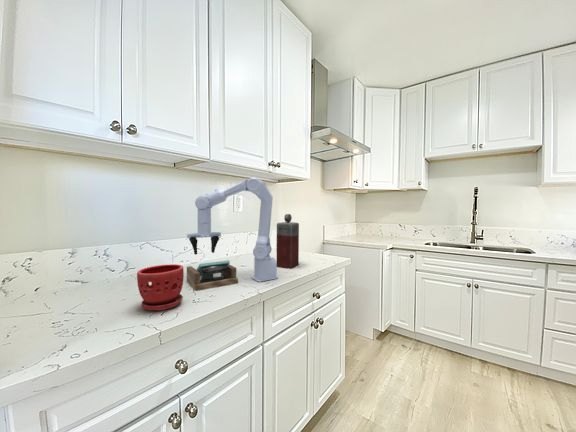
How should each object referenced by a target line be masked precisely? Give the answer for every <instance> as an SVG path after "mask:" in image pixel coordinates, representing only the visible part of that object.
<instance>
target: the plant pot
mask: <svg viewBox="0 0 576 432" xmlns="http://www.w3.org/2000/svg"><path fill="white" fill-rule="evenodd" d="M184 273H185V272H184V266H183V265H181V264H174V263H173V264H160V265H159V264H158V265H154V266H148V267H144V268H142V269H139V270H138V271H137V273H136V281H137V283H136V284H137V287H138V292H139V295H140V297H141V298H142V301H141V302H140V303H141V306H142V308H143V309H144V310H147V311H163V310H167V309H171V308H174V307H175V306H177V305H179V304H180V303H181V301H182V300H183V295H182V293H181V292H182V291H183V290H182V289H183V285H184V279H185V278H184V275H185V274H184ZM149 283H151V284H149Z"/></svg>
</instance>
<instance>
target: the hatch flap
mask: <svg viewBox="0 0 576 432" xmlns="http://www.w3.org/2000/svg"><path fill="white" fill-rule="evenodd" d="M230 263H231V262H230V260H222V261H211V262H204V263H200V264H199V265H198V266H197V268H196V270H197V271H198V272H199V273H200V276H203V275H210V274H213V275H214V274H221V273H222V271H223V270H228V264H230Z"/></svg>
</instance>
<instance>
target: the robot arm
mask: <svg viewBox="0 0 576 432" xmlns="http://www.w3.org/2000/svg"><path fill="white" fill-rule="evenodd" d="M241 192H250V193H252V194H254V195H255V196H256V197H257V198H258V199H259V201H260V209H259V219H258V221H259V222H258V232H257V238H256V241H255V245H254V248H253V249H252V253H253V256H254V258H253V263H254V264H253V267H254V269H253V270H254V271H253V273H254V275H251V276H250V278H251V279H252V280H255V281H256V282H260V283H261V282H266V281H270V280H271V281H272V280H275V279H278V277H277V269H278V267H277V259H275V257H271V255H270V253H271V252H272V245H271V239H270V234H271V233H270V232H271V221H272V211H273V199H274V197H273V195H272V193H271V191H270V189H269V187H268V184H266V182H264V181H263V180H262V179H259V178H258V177H255V176H253V177H250V178H248V179H243V180H242V181H240V182H238V183H236V184H234V185H232V186H230V187H228V188H226V189H224V190H223V189H220V188H218V189H217V188H216V189H214V191H212V192H210V193H205V194H204V195H205V196H204V195H200V196H198V197H197V198H195V201H194V204H195V207H196V208H197V232H194V233H186V239H188V240H189V242H190V243H191V246H192V249H193V253H194V255H198V241H199V240H198V239H199V238H210V242H211V243H210V245H211V247H210V251H211V253H212V254H214V253H215V250H216V246H217V244H218V242H219V241H220V237H221V236H222V235H221V233H222V232H221V231H218V232H217V231H213V232H212V213H211V212H212V208H213V207H214V206H218V205H219V204H222V203H224V202H226V200H227V199H228V197H231V196H234V195H237V194H239V193H241Z"/></svg>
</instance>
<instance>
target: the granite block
mask: <svg viewBox="0 0 576 432" xmlns="http://www.w3.org/2000/svg"><path fill="white" fill-rule="evenodd" d="M208 279H209V280H210V279H214V274H210V275H203V276H200V280H208Z"/></svg>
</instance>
